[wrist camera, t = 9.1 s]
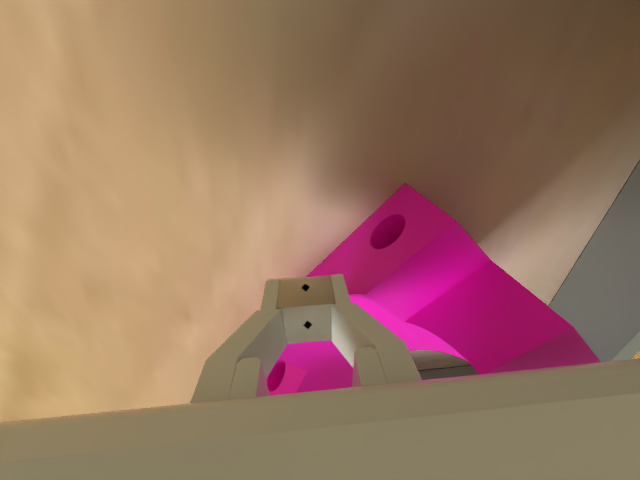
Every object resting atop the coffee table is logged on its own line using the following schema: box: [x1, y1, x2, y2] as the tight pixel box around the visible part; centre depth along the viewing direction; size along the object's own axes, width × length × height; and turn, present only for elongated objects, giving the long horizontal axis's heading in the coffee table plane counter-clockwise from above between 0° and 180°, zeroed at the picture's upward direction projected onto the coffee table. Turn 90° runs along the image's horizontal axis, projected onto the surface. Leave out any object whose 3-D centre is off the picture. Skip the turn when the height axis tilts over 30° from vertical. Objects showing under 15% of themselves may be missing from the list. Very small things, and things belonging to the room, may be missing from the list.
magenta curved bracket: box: [266, 184, 601, 396], centre depth 12 cm, size 15×6×8 cm, turn 138°
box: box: [418, 162, 640, 380], centre depth 12 cm, size 26×21×4 cm
